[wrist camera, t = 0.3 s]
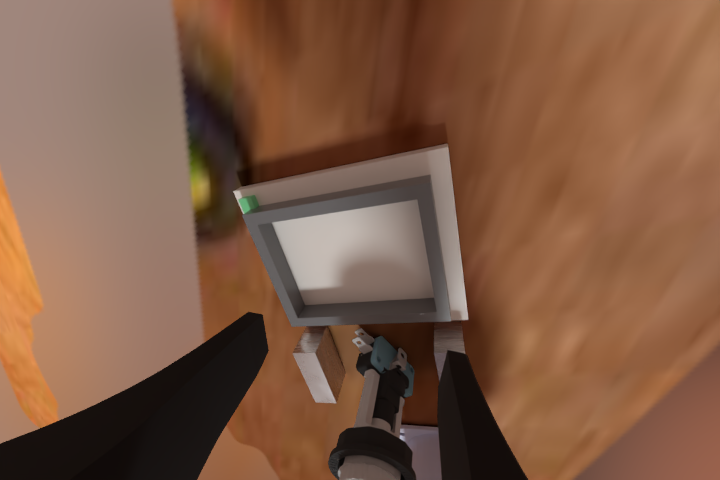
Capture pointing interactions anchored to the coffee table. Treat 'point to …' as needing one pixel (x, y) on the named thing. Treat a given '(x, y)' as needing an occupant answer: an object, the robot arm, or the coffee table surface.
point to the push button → (377, 417)
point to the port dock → (362, 241)
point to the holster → (328, 372)
